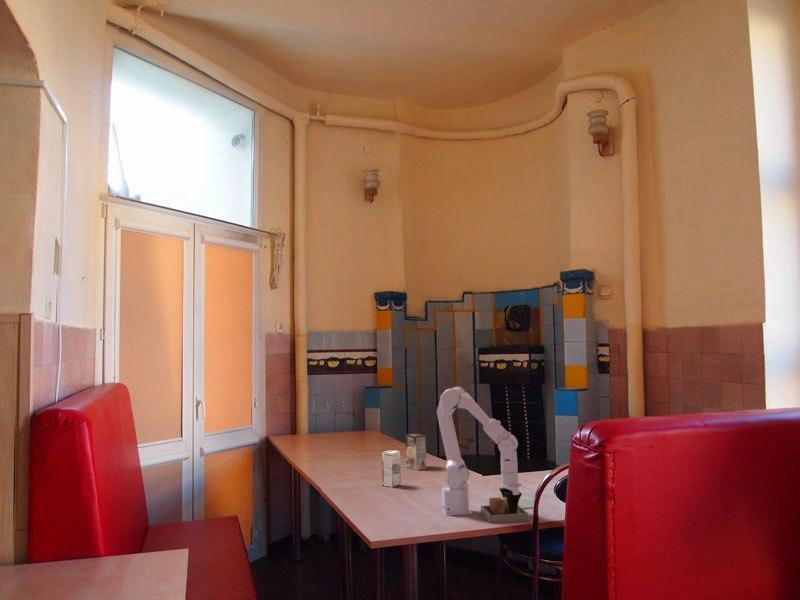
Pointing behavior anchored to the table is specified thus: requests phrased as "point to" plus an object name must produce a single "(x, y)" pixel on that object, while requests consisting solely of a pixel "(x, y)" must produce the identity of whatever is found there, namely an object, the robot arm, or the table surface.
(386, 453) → the syrup box
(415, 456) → the coffee box
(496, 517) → the bin
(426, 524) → the table surface
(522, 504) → the mat
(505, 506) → the label block
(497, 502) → the plain block
